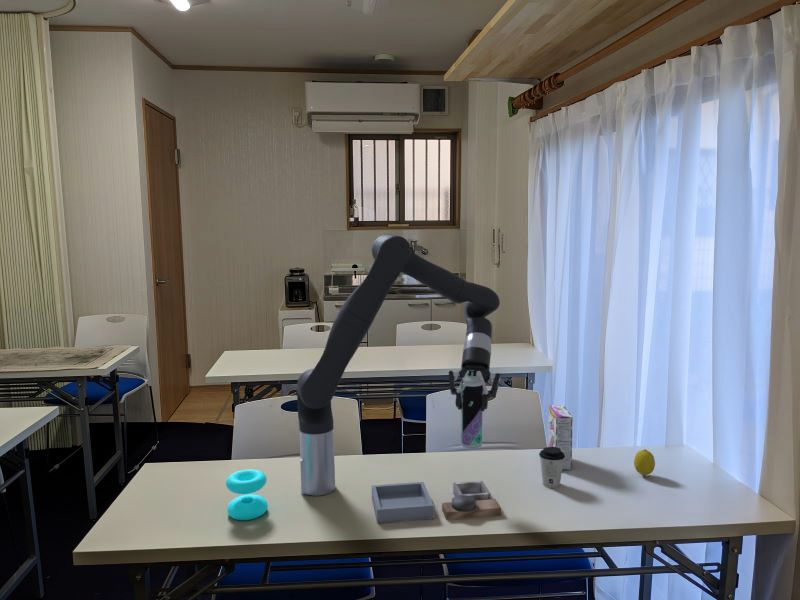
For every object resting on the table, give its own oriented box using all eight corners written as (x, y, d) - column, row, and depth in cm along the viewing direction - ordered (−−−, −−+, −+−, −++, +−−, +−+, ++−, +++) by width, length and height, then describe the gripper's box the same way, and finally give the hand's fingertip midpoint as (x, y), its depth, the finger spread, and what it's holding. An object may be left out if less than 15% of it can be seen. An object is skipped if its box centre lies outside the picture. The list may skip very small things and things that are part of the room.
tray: (377, 523, 154) (377, 509, 154) (371, 497, 168) (371, 485, 167) (433, 518, 156) (433, 505, 155) (423, 494, 170) (423, 481, 169)
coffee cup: (554, 492, 170) (555, 457, 168) (533, 484, 175) (533, 449, 174) (569, 484, 174) (570, 450, 173) (548, 477, 180) (549, 443, 178)
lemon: (655, 474, 180) (657, 447, 179) (652, 481, 176) (653, 454, 175) (635, 470, 183) (636, 444, 182) (631, 477, 179) (632, 450, 178)
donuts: (220, 473, 161) (258, 464, 166) (222, 510, 162) (260, 500, 167) (232, 487, 152) (272, 477, 157) (234, 526, 154) (273, 515, 159)
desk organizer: (446, 520, 155) (446, 507, 154) (435, 494, 169) (435, 482, 169) (501, 516, 157) (501, 503, 156) (485, 491, 171) (485, 478, 171)
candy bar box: (546, 455, 195) (547, 404, 193) (563, 455, 195) (564, 404, 193) (554, 470, 184) (556, 416, 182) (572, 470, 184) (573, 416, 182)
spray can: (468, 449, 161) (469, 373, 158) (456, 443, 166) (457, 369, 163) (486, 446, 163) (487, 371, 161) (474, 439, 168) (475, 366, 165)
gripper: (449, 344, 170) (441, 400, 160) (502, 346, 167) (498, 404, 157) (452, 359, 176) (444, 414, 166) (504, 361, 172) (499, 417, 163)
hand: (471, 408), depth 161 cm, fingers closed on spray can, 5 cm apart
